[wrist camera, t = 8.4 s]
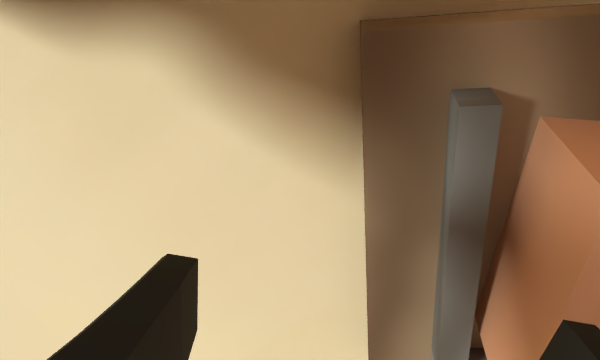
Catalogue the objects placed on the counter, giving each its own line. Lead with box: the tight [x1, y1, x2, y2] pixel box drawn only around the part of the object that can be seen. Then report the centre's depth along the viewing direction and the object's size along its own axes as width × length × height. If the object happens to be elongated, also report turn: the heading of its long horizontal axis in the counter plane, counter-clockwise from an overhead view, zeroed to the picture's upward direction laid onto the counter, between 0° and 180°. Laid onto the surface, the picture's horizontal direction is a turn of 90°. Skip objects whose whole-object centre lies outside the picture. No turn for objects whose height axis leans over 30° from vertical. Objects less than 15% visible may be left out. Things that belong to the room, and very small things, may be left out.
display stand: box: [360, 4, 600, 360], centre depth 17 cm, size 14×16×3 cm
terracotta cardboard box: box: [474, 116, 600, 360], centre depth 15 cm, size 4×9×5 cm, turn 178°
